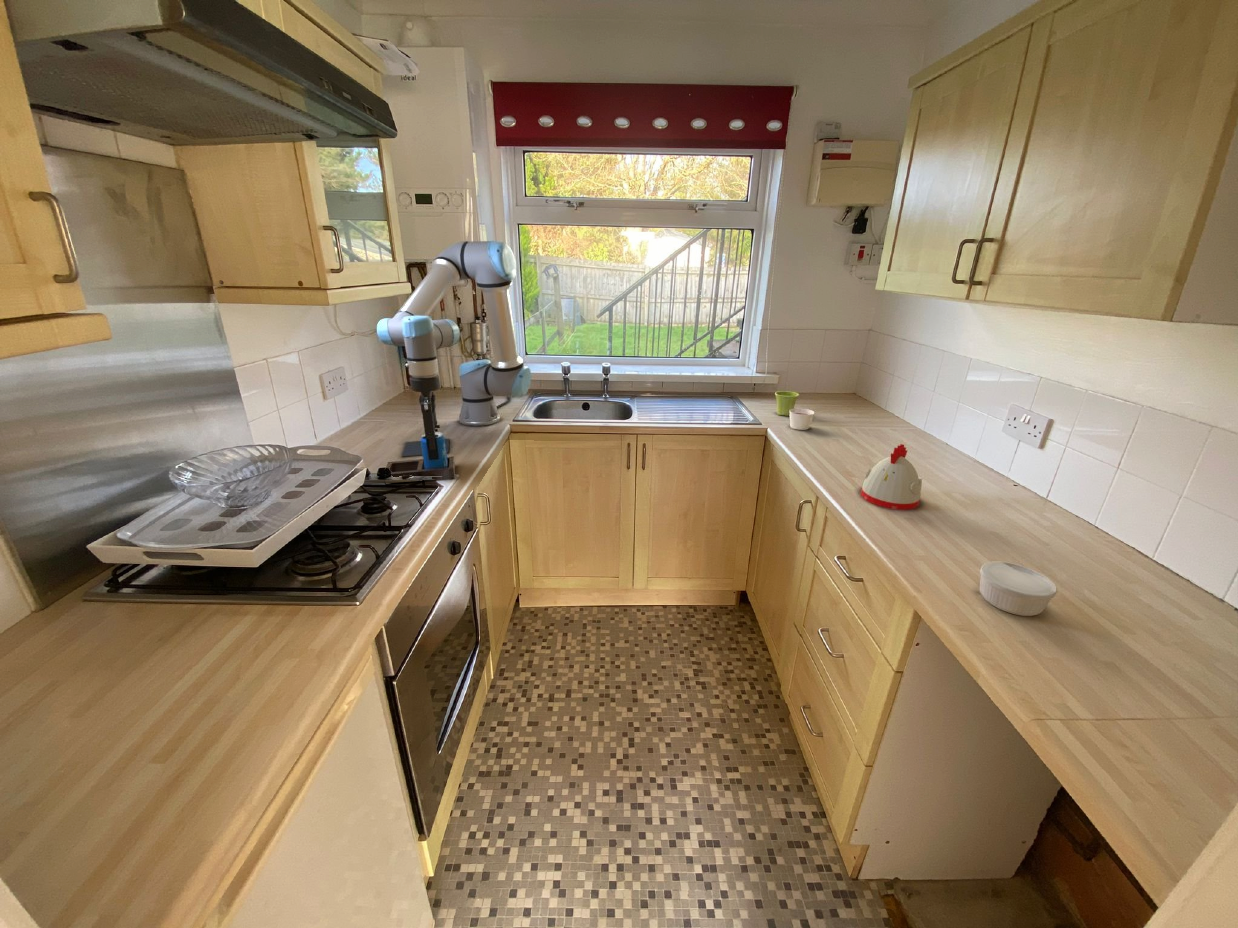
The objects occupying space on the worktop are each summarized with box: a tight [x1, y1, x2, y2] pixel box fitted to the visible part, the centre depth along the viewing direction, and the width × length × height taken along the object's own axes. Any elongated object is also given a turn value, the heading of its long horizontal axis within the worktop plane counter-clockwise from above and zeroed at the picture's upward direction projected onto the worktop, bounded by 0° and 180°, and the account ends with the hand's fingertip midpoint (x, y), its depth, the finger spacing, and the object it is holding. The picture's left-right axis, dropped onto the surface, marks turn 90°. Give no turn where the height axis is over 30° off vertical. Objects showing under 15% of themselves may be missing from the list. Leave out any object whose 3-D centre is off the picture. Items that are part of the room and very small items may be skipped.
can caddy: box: [385, 456, 456, 481], centre depth 147 cm, size 10×18×3 cm, turn 106°
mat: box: [401, 438, 450, 458], centre depth 169 cm, size 14×14×1 cm
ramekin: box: [979, 560, 1058, 617], centre depth 93 cm, size 11×11×5 cm
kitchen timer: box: [860, 443, 923, 511], centre depth 133 cm, size 14×14×15 cm
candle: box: [789, 407, 815, 431], centre depth 193 cm, size 9×9×6 cm
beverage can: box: [420, 431, 448, 469], centre depth 146 cm, size 6×6×12 cm
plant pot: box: [774, 390, 800, 417], centre depth 210 cm, size 9×9×9 cm
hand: (434, 454), depth 146 cm, fingers closed on beverage can, 6 cm apart
